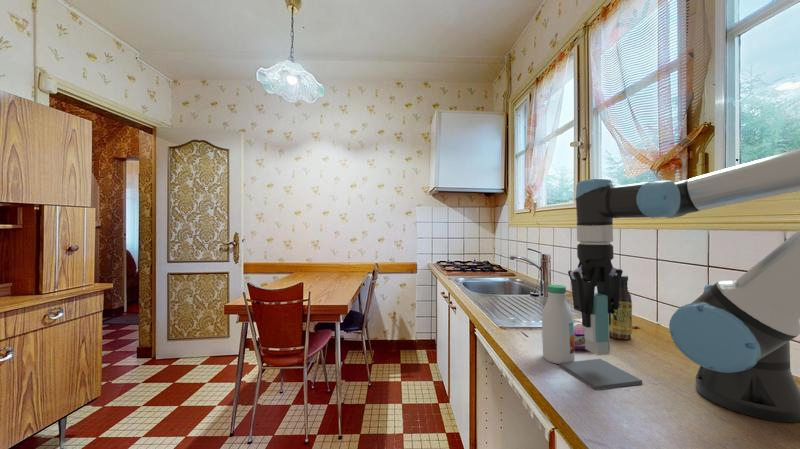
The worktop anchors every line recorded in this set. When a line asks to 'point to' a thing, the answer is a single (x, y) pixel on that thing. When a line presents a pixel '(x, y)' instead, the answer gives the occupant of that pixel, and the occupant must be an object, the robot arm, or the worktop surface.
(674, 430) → the worktop surface
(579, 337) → the candy bar box
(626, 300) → the sauce bottle
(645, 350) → the worktop surface
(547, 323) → the milk bottle
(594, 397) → the worktop surface
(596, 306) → the stick
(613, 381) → the mat
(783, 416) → the robot arm
